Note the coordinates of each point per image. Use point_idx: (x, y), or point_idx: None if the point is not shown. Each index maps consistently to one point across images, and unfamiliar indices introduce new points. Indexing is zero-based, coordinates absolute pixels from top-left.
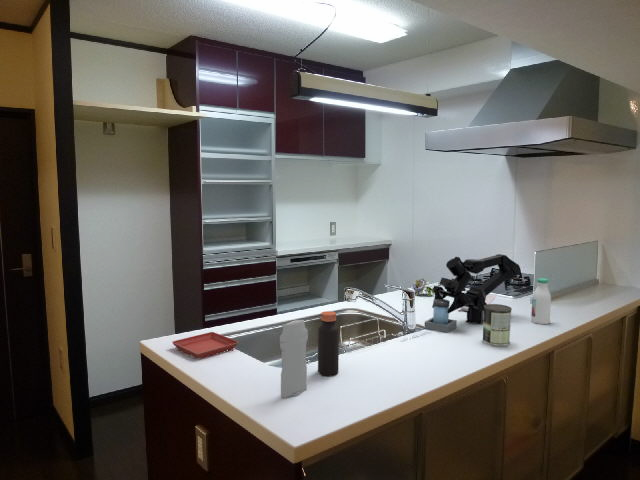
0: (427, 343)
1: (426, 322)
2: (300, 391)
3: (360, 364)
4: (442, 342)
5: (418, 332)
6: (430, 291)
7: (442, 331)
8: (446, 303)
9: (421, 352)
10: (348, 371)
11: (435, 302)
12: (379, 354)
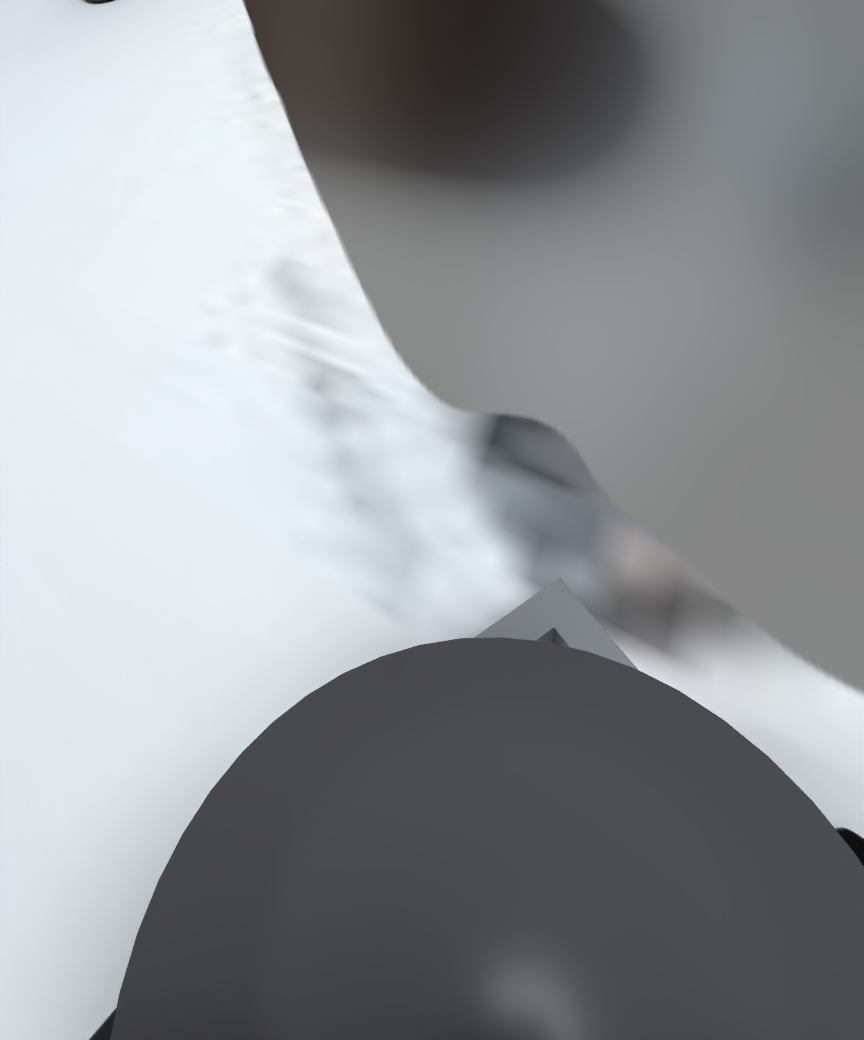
0: (140, 413)
1: (535, 597)
2: None
3: (111, 58)
4: (83, 541)
5: (435, 473)
6: None
7: None
8: (139, 1036)
9: (39, 308)
10: (84, 26)
11: (437, 648)
12: (159, 126)
